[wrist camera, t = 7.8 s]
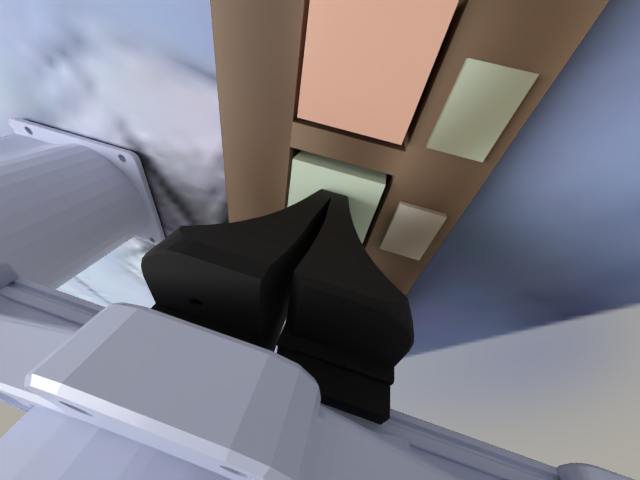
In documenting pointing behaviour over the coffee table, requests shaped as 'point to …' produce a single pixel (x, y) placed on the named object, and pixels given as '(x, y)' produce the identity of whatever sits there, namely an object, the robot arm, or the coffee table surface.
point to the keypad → (425, 127)
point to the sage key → (338, 185)
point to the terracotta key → (370, 62)
